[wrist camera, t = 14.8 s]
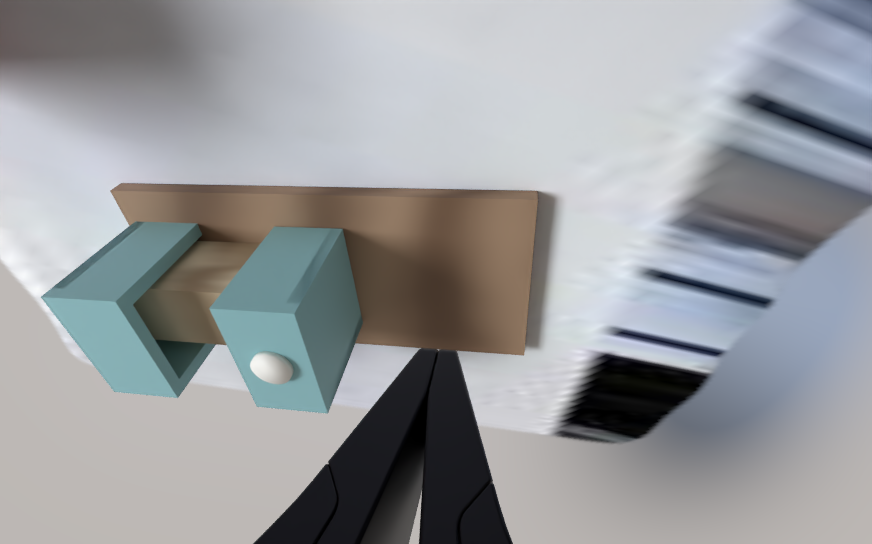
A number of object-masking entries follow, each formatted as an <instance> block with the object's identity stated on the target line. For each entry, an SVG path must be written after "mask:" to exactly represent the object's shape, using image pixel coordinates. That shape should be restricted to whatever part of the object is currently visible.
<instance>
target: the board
mask: <svg viewBox="0 0 872 544" xmlns="http://www.w3.org/2000/svg"><path fill="white" fill-rule="evenodd" d="M111 193H112V195H113V197H114V198H115V200H116V202H117V204H118V206H119V207H120V209H121V211H122V213H123V215H124V217H125V218H126V220H127V222H128V224H129V226H130V225H132V224H133V223H134V222H135V221H137V222H167V223H197V224H198V226H199V229H200V231H201V233H202V236H201V237H200V238H199V239H198V240H197V241H212V242H238V243H261V242H262V241H263V240H264V239H265V237H266V236H267V235H268V234H269V232H270V231H271V230H272V228H273V227H304V228H334V229H343V233H344V237H345V242H346V247H347V251H348V256H349V260H350V265H351V270H352V274H353V279H354V284H355V288H356V293H357V298H358V302H359V307H360V311H361V316H362V321H363V324H362V327H361V329H360V332H359V335H358V337H357V340H356V342H355V343H360V344H374V345H388V346H402V347H416V348H432V349H446V350H457V351H471V352H485V353H499V354H512V355H524V351H525V339H526V328H527V317H528V306H529V294H530V283H531V272H532V261H533V249H534V238H535V227H536V215H537V204H538V192H537V191H507V190H452V189H398V188H343V187H289V186H234V185H180V184H125V183H121V184H120V185H118V186H117V187H115V188H114V189H112V190H111Z"/></svg>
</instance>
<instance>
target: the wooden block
mask: <svg viewBox="0 0 872 544" xmlns="http://www.w3.org/2000/svg"><path fill="white" fill-rule="evenodd" d="M260 244H261V243H238V242H212V241H196V242H195V243H194V244H193V245H192V246H191V247H190V248H189V249H188V250H187V251H186V252H185V253H184V254H183V255H182V256H181V257H180V258H179V259H178V260H177V261H176V262H175V263H174V264H173V265H172V266H171V267H170V268H169V269H168V270H167V271H166V272H165V273H164V274H163V275H162V276H161V277H160V278H159V279H158V280H157V281H156V282H155V283H154V284H153V285H152V286H151V287H150V288H149V289H148V290H147V291H146V292H145V293H144V294H143V295H142V296H141V297H140V298H139V299H138V300H137V301H136V302H135V303H134V304H133V306H134V307H135V309H136V311H137V312H138V314H139V315H140V317H141V319H142V320H143V322H144V323H145V325H146V327H147V328H148V330H149V331H150V333H151V335H152V336H153V338H154V339H155V340H168V341H181V342H194V343H207V344H220V345H227V344H226V342H225V340H224V338H223V336H222V334H221V332H220V330H219V328H218V326H217V324H216V322H215V320H214V318H213V315H212V313H211V311H210V309H209V308H210V307H211V306H212V304H213V303H214V302H215V300H216V299H217V298H218V297H219V295H220V294H221V293H222V292H223V290H224V289H225V288H226V287H227V285H228V284H229V283H230V282H231V280H232V279H233V278H234V276H235V275H236V274H237V273H238V271H239V270H240V269H241V268H242V266H243V265H244V264H245V263H246V261H247V260H248V259H249V258H250V256H251V255H252V254H253V252H254V251H255V250H256V249H257V247H258V246H259V245H260Z"/></svg>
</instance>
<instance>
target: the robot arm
mask: <svg viewBox="0 0 872 544" xmlns="http://www.w3.org/2000/svg"><path fill="white" fill-rule="evenodd" d="M328 463H329V465H328V464H326V465H325V466H324V467H323V468H322V470H321V471H320V472H319V473H318V475H317V476H316V477H315V478H314V479H313V481H312V482H311V483H310V484H309V485H308V486H307V488H306V489H305V490H304V491H303V492H302V493H301V495H300V496H299V497H298V498H297V499H296V500H295V501H294V502H293V503H292V505H291V506H290V507H289V508H288V509H287V510H286V511H285V512H284V513H283V514H282V515H281V516H280V517H279V518H278V519H277V520H276V521H275V523H273V524H272V525H271V526H270V527H269V529H267V530H266V531H265V532H264V533H263V535H261V537H259V538H258V539H257V540H256V541H255V542H254V543H253V544H409V540H410V536H411V532H412V528H413V524H414V519H415V515H416V511H417V507H418V503H419V499H420V495H421V491H422V502H421V519H420V538H419V544H513V543H512V540H511V538H510V535H509V532H508V530H507V527H506V524H505V521H504V517H503V514H502V512H501V508H500V505H499V501H498V498H497V494H496V490H495V487H494V484H493V482H492V481H493V480H492V476H491V473H490V469H489V466H488V462H487V458H486V455H485V451H484V447H483V444H482V440H481V437H480V433H479V429H478V426H477V422H476V418H475V415H474V411H473V407H472V404H471V400H470V397H469V393H468V389H467V386H466V382H465V378H464V375H463V371H462V368H461V364H460V360H459V357H458V353H457V351H455V350H446V349H441V350H439V351H438V350H437V349H432V348H421V349H419V350H418V351H417V353H416V354H415V355H414V356H413V358H412V359H411V360H410V361H409V363H408V364H407V365H406V366H405V367H404V369H403V370H402V371H401V372H400V374H399V375H398V376H397V377H396V379H395V380H394V381H393V382H392V384H391V385H390V386H389V387H388V388H387V390H386V391H385V392H384V393H383V395H382V396H381V397H380V398H379V400H378V401H377V402H376V403H375V404H374V406H373V407H372V408H371V409H370V411H369V412H368V413H367V414H366V416H365V417H364V418H363V419H362V420H361V422H360V423H359V424H358V425H357V427H356V428H355V429H354V430H353V432H352V433H351V434H350V435H349V437H348V438H347V439H346V440H345V441H344V443H343V444H342V445H341V447H340V448H339V449H338V450H337V451H336V453H335V454H334V455H333V456H332V458H331V459H330V460H329V461H328Z"/></svg>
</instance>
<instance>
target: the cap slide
mask: <svg viewBox="0 0 872 544" xmlns="http://www.w3.org/2000/svg"><path fill="white" fill-rule="evenodd" d="M209 309H210V311H211V313H212V315H213V318H214V320H215V322H216V324H217V326H218V328H219V330H220V332H221V334H222V336H223V338H224V340H225V342H226V344H227V346H228V348H229V350H230V352H231V354H232V356H233V358H234V361H235V363H236V365H237V367H238V369H239V371H240V373H241V375H242V377H243V379H244V381H245V383H246V385H247V387H248V389H249V391H250V393H251V395H252V397H253V399H254V401H255V404H256V406H257V407H267V408H277V409H288V410H298V411H308V412H318V413H328V412H329V409H330V406H331V404H332V401H333V399H334V396H335V394H336V391H337V388H338V386H339V383H340V381H341V378H342V376H343V373H344V370H345V368H346V365H347V363H348V360H349V358H350V355H351V353H352V350H353V347H354V345H355V342H356V340H357V337H358V335H359V332H360V329H361V327H362V324H363V321H362V316H361V311H360V307H359V302H358V298H357V293H356V288H355V284H354V279H353V274H352V270H351V265H350V260H349V256H348V251H347V247H346V242H345V237H344V233H343V229H334V228H304V227H273V228H272V230H271V231H270V232H269V234H268V235H267V236H266V237H265V239H264V240H263V241H262V242H261V244H260V245H259V246H258V247H257V249H256V250H255V251H254V252H253V254H252V255H251V256H250V258H249V259H248V260H247V261H246V263H245V264H244V265H243V266H242V268H241V269H240V270H239V271H238V273H237V274H236V275H235V276H234V278H233V279H232V280H231V282H230V283H229V284H228V285H227V287H226V288H225V289H224V290H223V292H222V293H221V294H220V295H219V297H218V298H217V299H216V300H215V302H214V303H213V304H212V306H211V307H210V308H209Z"/></svg>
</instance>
